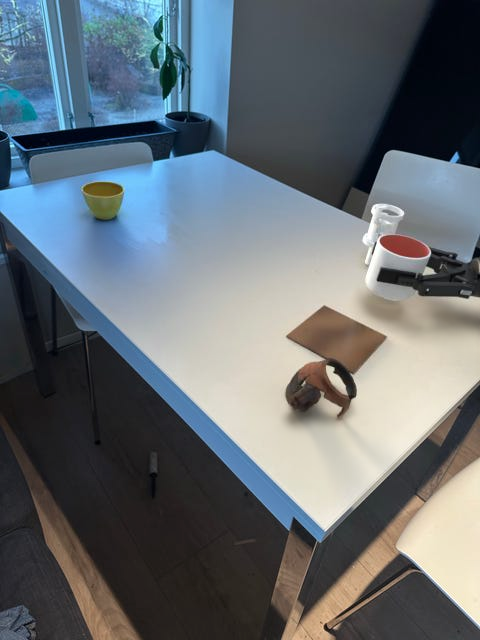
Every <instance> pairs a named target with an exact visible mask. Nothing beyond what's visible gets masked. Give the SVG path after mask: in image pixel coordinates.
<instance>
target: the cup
mask: <svg viewBox="0 0 480 640" xmlns="http://www.w3.org/2000/svg"><path fill="white" fill-rule="evenodd" d="M428 247H429V246H428V245H427V244H425V243H424V242H422V241H421V240H418V239H416V238H414V237H411V236H407V235H403V234H396V233H395V234H388V235H383V236H381V237H380V238H379V239H378V241H377V244H376V247H375V250H374V254H373V257H372V260H371V263H370V266H368V269H367V273H366V275H365V285H366V287H367V289H368V290H369V291H370V292H371V293H372V294H374V295H376V296H377V297H379V298H381V299H384V300H387V301H394V302H402V301H407V300H409V299H411V298H412V297H414V295H415V294H416V292H417V290H414V289H413V287H407V286H401V285H395V284H389V283H383V282H377V280H376V279H377V276H378V273H379V270H380V267H384V268H390V269H396V270H402V271H408V272H414V273H416V278H417V276H418V273H421V274H422V275H424V272H425V270H426V268H427V267H426V265H427V263H428V260H429V258H430V255H431V251H430V249H429V248H428Z"/></svg>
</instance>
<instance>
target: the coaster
mask: <svg viewBox="0 0 480 640" xmlns="http://www.w3.org/2000/svg"><path fill="white" fill-rule="evenodd" d="M285 338H287V339H289V340H290V341H292V342H294V343H296V344H298V345H300V346H301V347H303V348H305V349H307V350H308V351H310V352H312V353H314V354H316V355H318V356H320V357H321V358H323V359H324V360H325V359H326V358H333V359H336V360H338V361H339V362H340V363H342V364H343V365H344V366H345V367H346V368H347V369H348V371H349V372H350V374H351V375H355V374H356V373H357V371H358V370H359V369H360V368H361V367H362V366H363V365H364V364H365V363H366V361H368V359H369V358H370V357H371V356H372V355H373V353H375V351H376V350H377V349H378V348H379V347H380V346H381V345H382V344H383V343H384V342H385V341H386V339H387V338H388V336H387V335H386V334H383V333H382V332H380V331H378V330H375V329H373V328H372V327H369V326H367V325H365V324H364V323H362V322H359V321H357V320H356V319H353V318H351V317H349V316H347V315H345V314H343V313H341V312H339V311H337V310H335V309H333V308H330V307H329V306H327V305H325V304H324V305H322V306H321V307H319V309H317V310H316V311H315V312H314V313H312V314H311V315H310V316H309V317H308V318H306V319H305V320H304V321H303V322H301V323H300V324H298V326H296V327H295V328H293V329H292V330H291V331H289V333H287V334H286V335H285Z"/></svg>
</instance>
